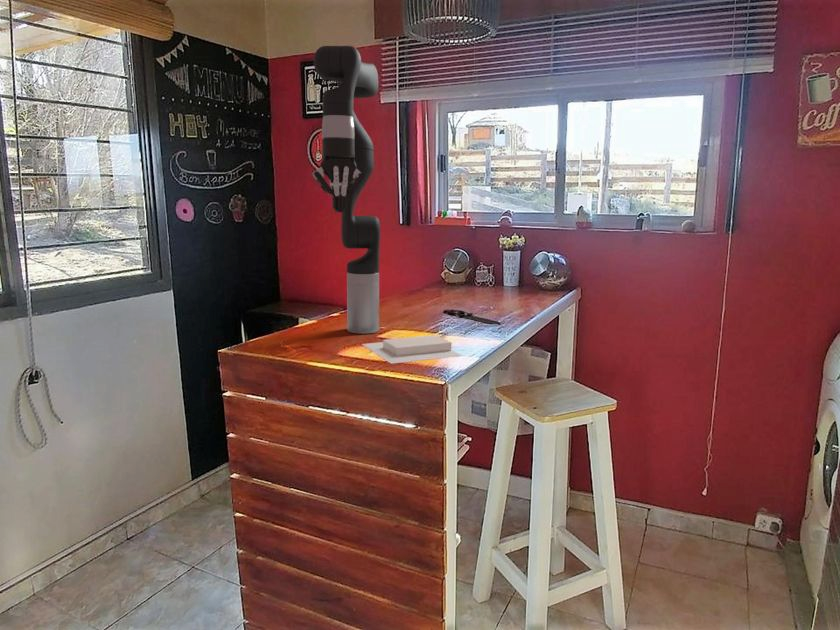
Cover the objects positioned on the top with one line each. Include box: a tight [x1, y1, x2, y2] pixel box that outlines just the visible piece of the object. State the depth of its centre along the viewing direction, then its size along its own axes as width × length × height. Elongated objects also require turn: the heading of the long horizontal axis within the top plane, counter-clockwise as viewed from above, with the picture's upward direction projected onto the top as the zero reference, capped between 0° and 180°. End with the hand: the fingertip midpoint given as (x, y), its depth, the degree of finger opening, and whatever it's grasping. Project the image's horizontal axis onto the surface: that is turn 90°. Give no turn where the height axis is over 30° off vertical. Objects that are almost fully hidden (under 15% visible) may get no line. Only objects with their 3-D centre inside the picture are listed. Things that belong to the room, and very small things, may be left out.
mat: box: [361, 341, 463, 365], centre depth 153 cm, size 20×19×1 cm
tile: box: [382, 334, 452, 356], centre depth 153 cm, size 9×2×15 cm
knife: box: [442, 308, 501, 325], centre depth 198 cm, size 25×6×1 cm, turn 34°
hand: (338, 212), depth 144 cm, fingers closed
